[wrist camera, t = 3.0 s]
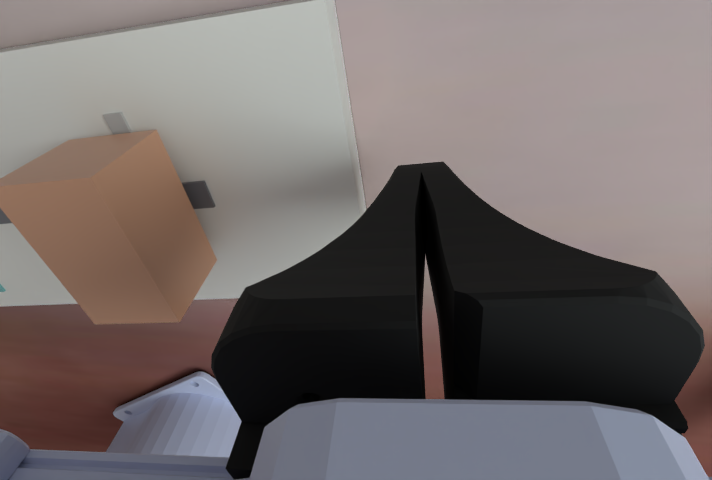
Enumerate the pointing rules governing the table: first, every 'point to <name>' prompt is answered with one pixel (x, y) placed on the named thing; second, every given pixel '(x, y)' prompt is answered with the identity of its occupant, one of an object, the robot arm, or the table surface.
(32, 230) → the block
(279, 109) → the fader board
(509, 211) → the table surface
